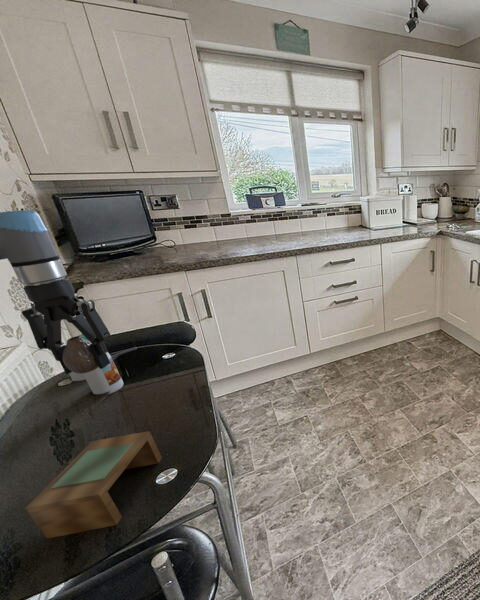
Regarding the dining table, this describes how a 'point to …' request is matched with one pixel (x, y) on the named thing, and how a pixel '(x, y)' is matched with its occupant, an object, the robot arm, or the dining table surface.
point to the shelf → (90, 485)
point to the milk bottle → (104, 377)
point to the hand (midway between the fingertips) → (88, 368)
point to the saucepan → (80, 376)
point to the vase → (79, 356)
